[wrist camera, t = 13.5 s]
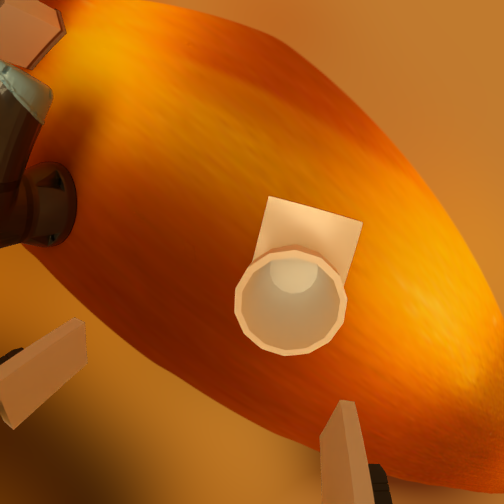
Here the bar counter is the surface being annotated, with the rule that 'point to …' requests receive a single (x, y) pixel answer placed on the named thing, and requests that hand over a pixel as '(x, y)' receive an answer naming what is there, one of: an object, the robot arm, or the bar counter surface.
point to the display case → (28, 31)
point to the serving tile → (309, 232)
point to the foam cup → (290, 300)
